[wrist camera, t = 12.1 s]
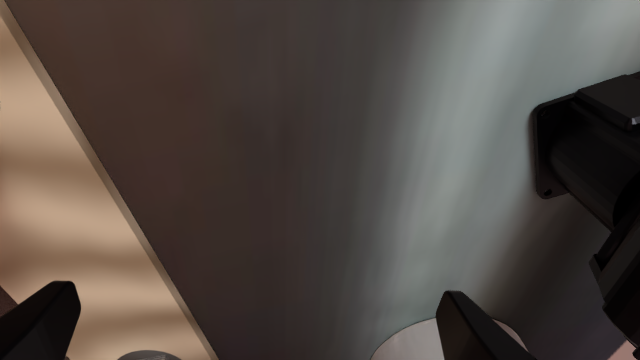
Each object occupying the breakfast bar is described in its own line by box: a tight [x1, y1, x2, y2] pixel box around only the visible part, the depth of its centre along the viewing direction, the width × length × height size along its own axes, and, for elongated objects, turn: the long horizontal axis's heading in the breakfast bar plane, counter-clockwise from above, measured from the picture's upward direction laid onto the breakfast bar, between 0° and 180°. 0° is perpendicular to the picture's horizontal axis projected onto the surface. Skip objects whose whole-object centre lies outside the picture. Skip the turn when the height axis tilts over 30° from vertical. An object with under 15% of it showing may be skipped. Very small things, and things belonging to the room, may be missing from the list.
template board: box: [0, 0, 219, 360], centre depth 25 cm, size 33×10×1 cm, turn 12°
